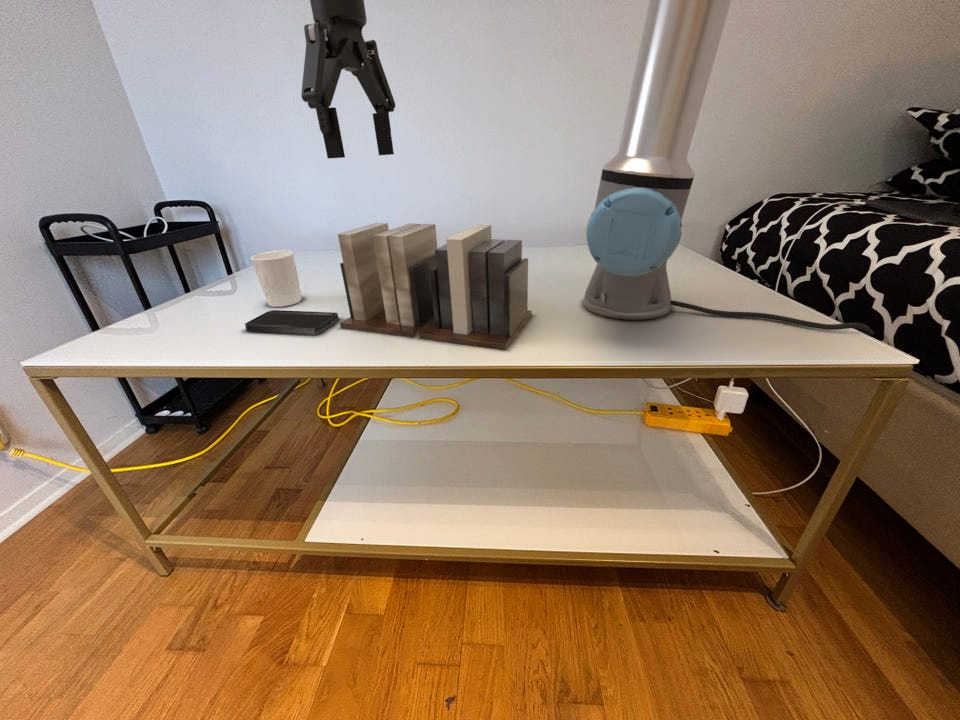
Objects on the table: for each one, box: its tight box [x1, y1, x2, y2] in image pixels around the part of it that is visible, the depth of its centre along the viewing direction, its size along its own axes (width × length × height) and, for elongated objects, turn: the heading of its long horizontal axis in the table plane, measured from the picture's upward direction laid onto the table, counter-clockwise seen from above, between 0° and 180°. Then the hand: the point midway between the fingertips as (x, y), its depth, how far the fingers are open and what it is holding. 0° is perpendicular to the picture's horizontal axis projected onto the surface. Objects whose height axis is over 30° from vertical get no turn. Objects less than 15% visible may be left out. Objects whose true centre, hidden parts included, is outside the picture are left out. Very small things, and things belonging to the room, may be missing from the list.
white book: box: [445, 224, 492, 335], centre depth 68 cm, size 2×12×15 cm, turn 158°
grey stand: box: [418, 238, 533, 351], centre depth 68 cm, size 15×15×14 cm
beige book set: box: [337, 222, 438, 339], centre depth 73 cm, size 15×15×16 cm
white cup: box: [250, 250, 303, 308], centre depth 85 cm, size 8×8×10 cm
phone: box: [244, 309, 340, 336], centre depth 75 cm, size 8×1×15 cm
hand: (363, 156), depth 68 cm, fingers open, 13 cm apart
